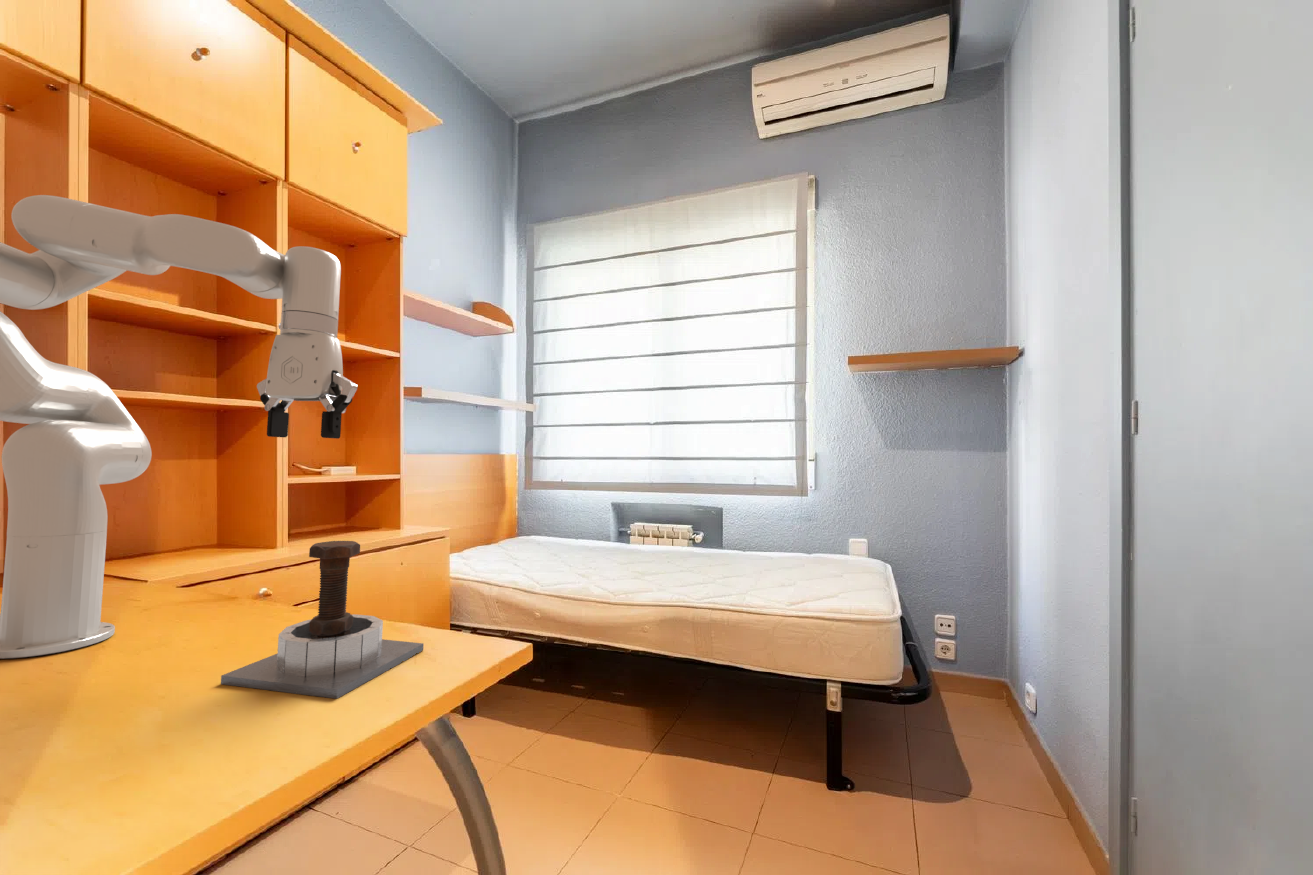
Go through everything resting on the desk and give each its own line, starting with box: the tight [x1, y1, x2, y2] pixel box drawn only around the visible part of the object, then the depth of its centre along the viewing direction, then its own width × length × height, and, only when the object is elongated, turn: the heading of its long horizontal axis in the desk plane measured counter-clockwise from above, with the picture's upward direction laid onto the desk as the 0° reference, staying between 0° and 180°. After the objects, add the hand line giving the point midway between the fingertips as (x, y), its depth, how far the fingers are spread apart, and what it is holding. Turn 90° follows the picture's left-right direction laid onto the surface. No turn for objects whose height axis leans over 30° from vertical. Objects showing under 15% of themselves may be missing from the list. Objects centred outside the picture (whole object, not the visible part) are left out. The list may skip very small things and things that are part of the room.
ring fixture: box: [220, 613, 424, 700], centre depth 70 cm, size 16×16×5 cm
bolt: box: [308, 540, 361, 639], centre depth 70 cm, size 6×5×15 cm
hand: (303, 437), depth 83 cm, fingers open, 9 cm apart
